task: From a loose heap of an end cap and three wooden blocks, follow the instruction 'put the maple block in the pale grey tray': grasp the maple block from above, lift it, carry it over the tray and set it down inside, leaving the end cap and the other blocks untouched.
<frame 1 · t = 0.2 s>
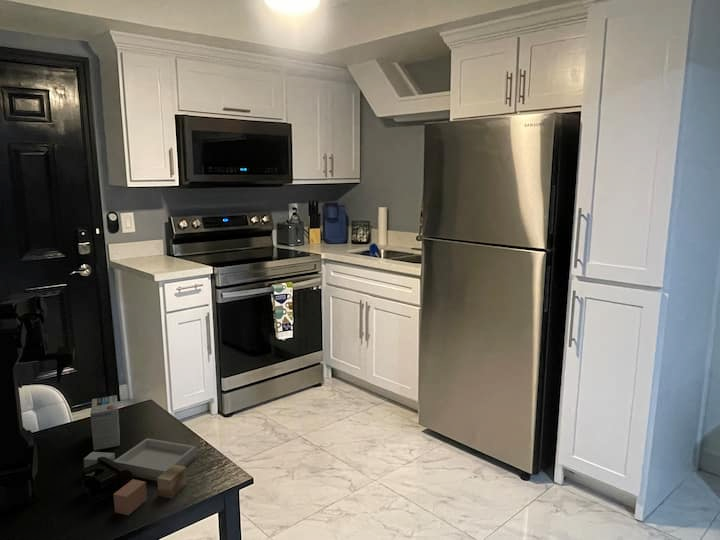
hand: (40, 384, 147), 15 cm above the table, tool pointing down, fingers open, 9 cm apart
tray: (156, 464, 134), on the table
end cap: (108, 492, 123), on the table
light bulb box: (107, 440, 147), on the table
pale blue block: (100, 472, 131), on the table
terracotta block: (131, 506, 117), on the table
maple block: (173, 490, 123), on the table
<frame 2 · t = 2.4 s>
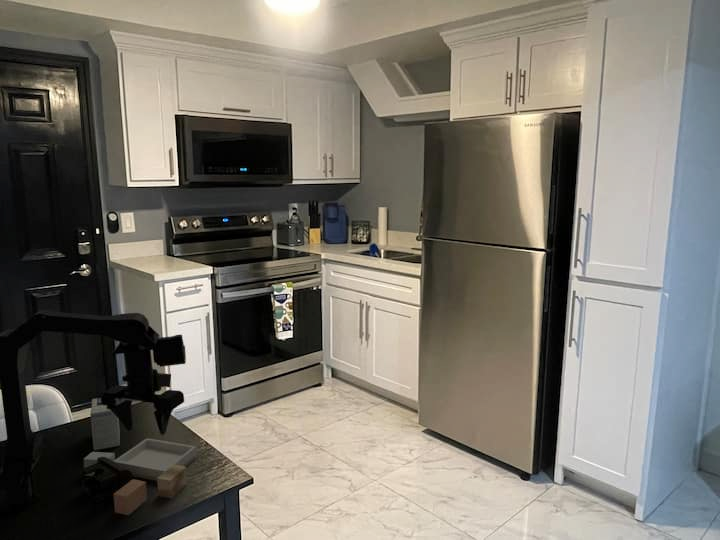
hand: (146, 432, 123), 13 cm above the table, tool pointing down, fingers open, 9 cm apart
nothing on the table moved.
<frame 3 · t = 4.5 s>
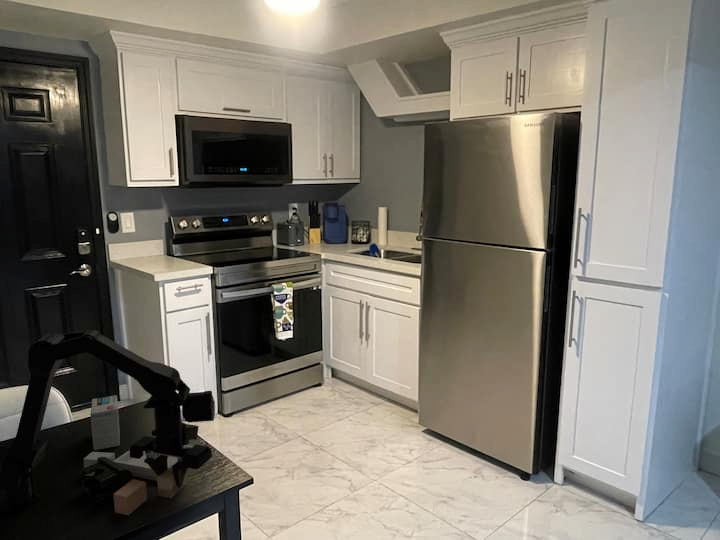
hand: (172, 485, 123), 1 cm above the table, tool pointing down, fingers closed on maple block, 3 cm apart
maple block: (173, 489, 123), on the table, touching gripper
everything else where it was.
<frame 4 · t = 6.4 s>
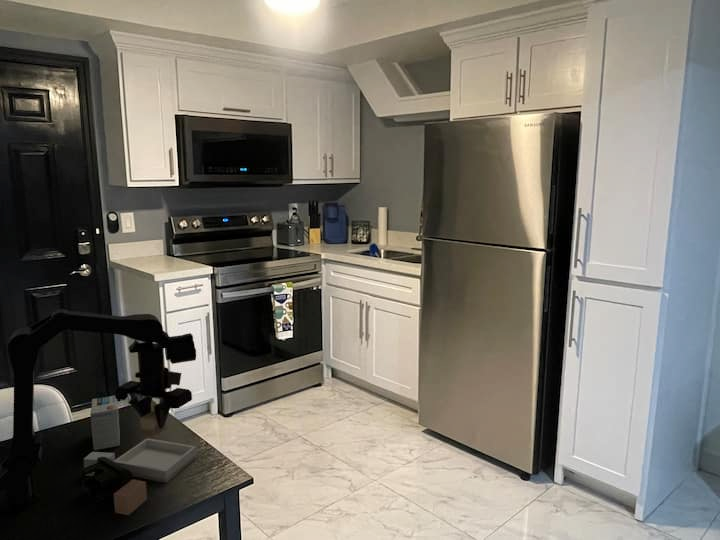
hand: (155, 426, 130), 11 cm above the table, tool pointing down, fingers closed on maple block, 3 cm apart
maple block: (155, 430, 130), point 10 cm above the table, touching gripper
everything else where it was.
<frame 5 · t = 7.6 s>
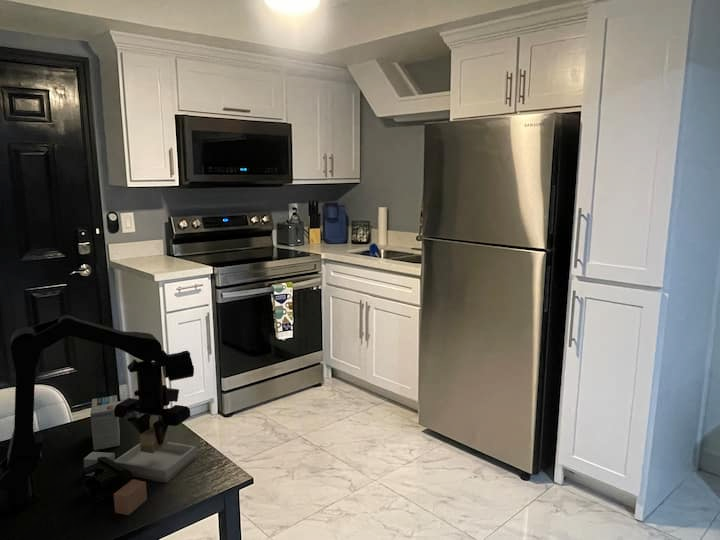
hand: (154, 443, 133), 6 cm above the table, tool pointing down, fingers closed on maple block, 3 cm apart
maple block: (154, 446, 133), point 5 cm above the table, touching gripper
everything else where it was.
when the fingers open (2 cm above the table, at t = 8.5 s): maple block stays where it is, resting on tray.
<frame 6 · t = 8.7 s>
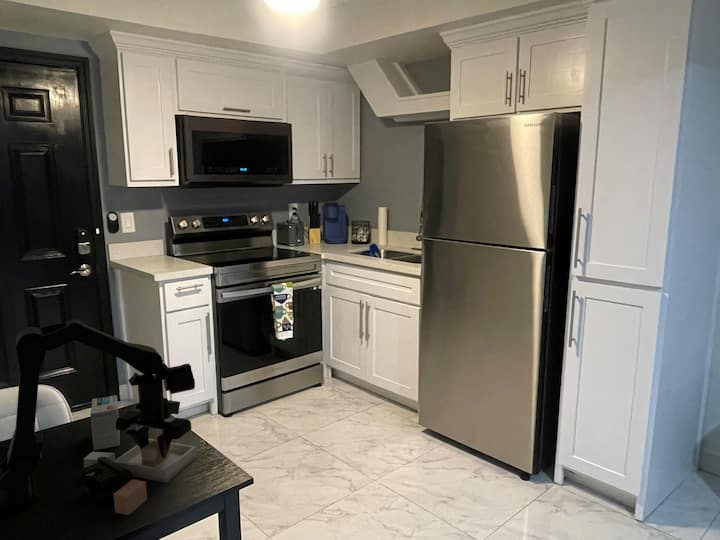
hand: (155, 455, 134), 2 cm above the table, tool pointing down, fingers open, 5 cm apart
maple block: (156, 461, 134), point 1 cm above the table, touching tray
everything else where it was.
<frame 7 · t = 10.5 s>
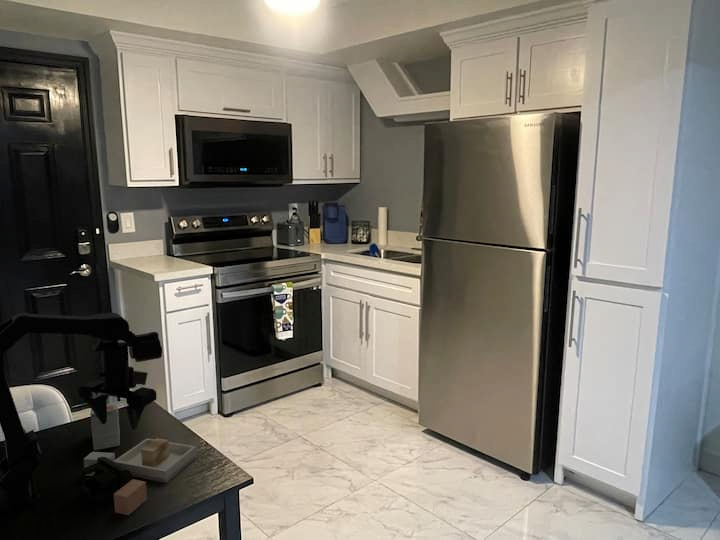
hand: (119, 426, 129), 12 cm above the table, tool pointing down, fingers open, 9 cm apart
nothing on the table moved.
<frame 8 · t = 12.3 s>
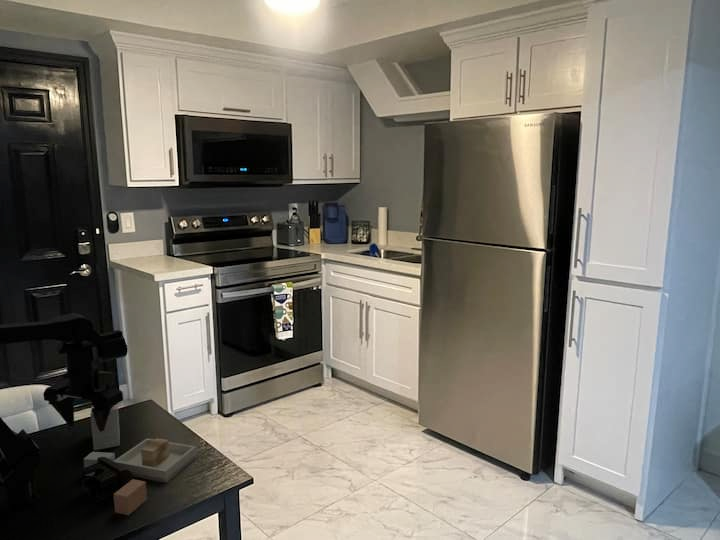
hand: (86, 428, 127), 13 cm above the table, tool pointing down, fingers open, 9 cm apart
nothing on the table moved.
at the end: maple block inside the target area on the tray (0.0 cm from its centre), point 1.0 cm above the tray's base; end cap moved 0.3 cm from its start; terracotta block moved 0.1 cm from its start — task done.
